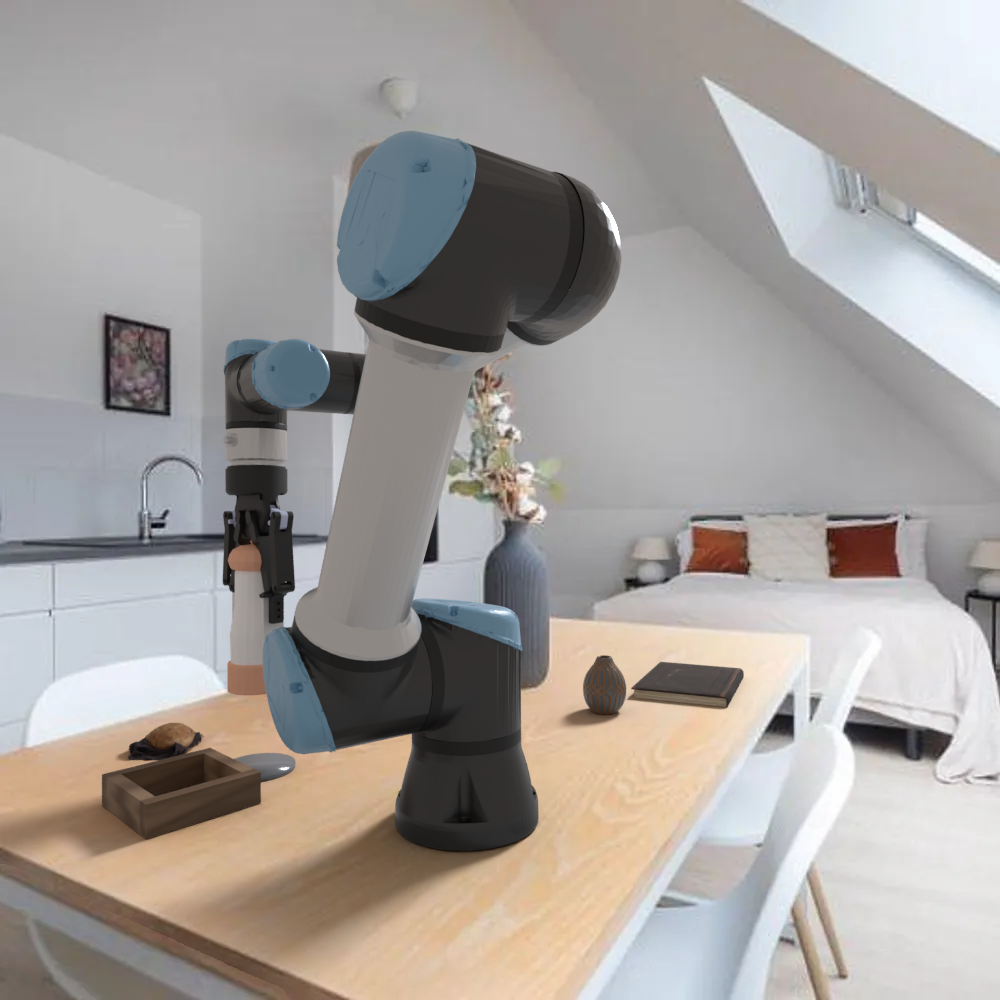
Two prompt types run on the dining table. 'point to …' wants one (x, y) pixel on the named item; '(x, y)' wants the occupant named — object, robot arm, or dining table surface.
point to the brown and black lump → (165, 742)
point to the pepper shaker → (246, 624)
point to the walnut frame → (180, 791)
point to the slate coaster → (269, 764)
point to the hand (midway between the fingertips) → (257, 645)
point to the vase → (604, 686)
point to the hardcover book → (690, 684)
